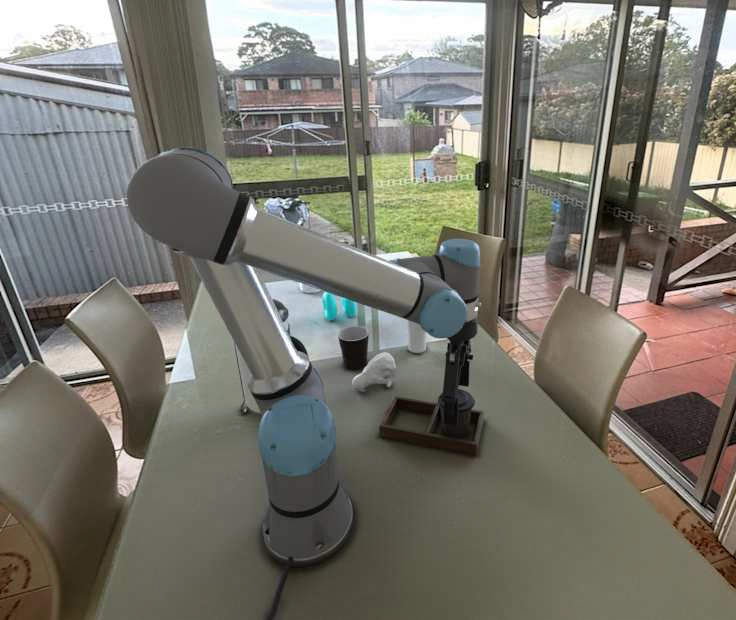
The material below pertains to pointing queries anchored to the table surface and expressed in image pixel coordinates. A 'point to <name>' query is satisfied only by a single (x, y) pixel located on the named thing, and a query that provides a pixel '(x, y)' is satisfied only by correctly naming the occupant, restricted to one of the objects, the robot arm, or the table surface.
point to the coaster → (308, 289)
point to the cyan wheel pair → (331, 306)
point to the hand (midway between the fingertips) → (457, 403)
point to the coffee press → (245, 371)
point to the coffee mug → (354, 346)
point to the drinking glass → (416, 337)
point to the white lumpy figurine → (376, 372)
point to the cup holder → (429, 427)
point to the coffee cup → (464, 415)
